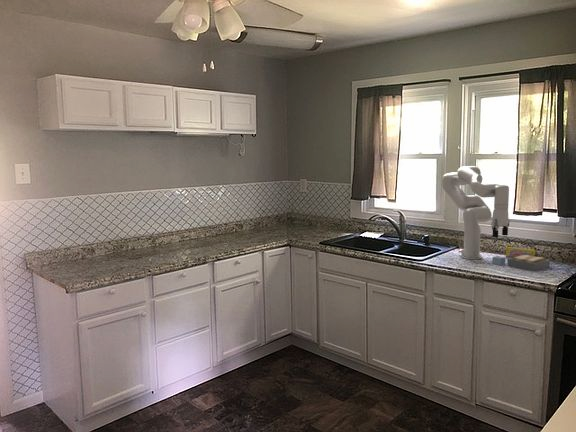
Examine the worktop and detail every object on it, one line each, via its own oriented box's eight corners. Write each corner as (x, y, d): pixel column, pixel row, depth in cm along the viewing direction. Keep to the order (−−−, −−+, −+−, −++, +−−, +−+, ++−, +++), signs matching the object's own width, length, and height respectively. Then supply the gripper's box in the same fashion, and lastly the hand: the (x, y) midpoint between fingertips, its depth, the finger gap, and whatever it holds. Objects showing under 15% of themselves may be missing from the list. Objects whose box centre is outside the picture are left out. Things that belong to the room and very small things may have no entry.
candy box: (504, 260, 302) (505, 246, 301) (506, 259, 303) (506, 246, 302) (533, 264, 291) (534, 250, 290) (534, 263, 292) (535, 249, 291)
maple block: (512, 265, 282) (512, 257, 281) (523, 262, 289) (524, 254, 288) (533, 269, 272) (533, 261, 272) (544, 266, 279) (544, 258, 279)
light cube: (492, 265, 289) (492, 257, 288) (496, 264, 292) (497, 255, 291) (500, 267, 285) (500, 258, 284) (504, 265, 288) (505, 257, 287)
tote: (507, 267, 283) (507, 259, 282) (522, 263, 292) (522, 255, 291) (534, 272, 270) (535, 264, 269) (549, 268, 279) (550, 259, 278)
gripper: (503, 205, 291) (502, 233, 294) (486, 207, 282) (485, 237, 284) (515, 206, 285) (514, 235, 288) (498, 208, 275) (497, 238, 278)
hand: (500, 236), depth 286 cm, fingers open, 9 cm apart
